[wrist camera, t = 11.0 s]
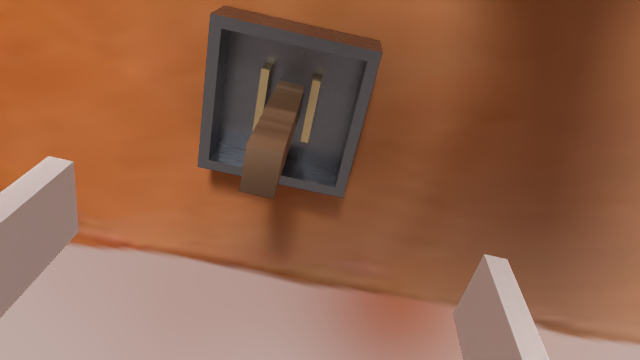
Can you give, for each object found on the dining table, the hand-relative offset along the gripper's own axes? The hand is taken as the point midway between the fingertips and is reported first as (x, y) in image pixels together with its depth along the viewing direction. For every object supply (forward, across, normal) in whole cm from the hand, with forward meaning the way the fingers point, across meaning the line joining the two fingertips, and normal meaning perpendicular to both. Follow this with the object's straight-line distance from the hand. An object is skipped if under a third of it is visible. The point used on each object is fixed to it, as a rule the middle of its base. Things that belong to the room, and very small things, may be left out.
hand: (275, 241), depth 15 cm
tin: (+22, -2, -4) cm, 23 cm away
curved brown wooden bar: (+22, -2, -4) cm, 22 cm away
